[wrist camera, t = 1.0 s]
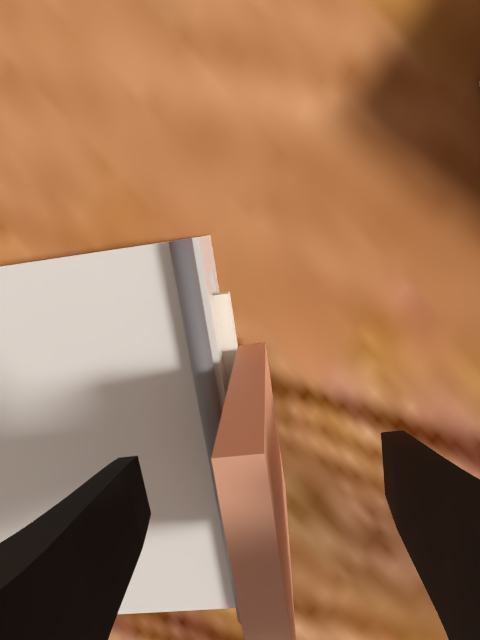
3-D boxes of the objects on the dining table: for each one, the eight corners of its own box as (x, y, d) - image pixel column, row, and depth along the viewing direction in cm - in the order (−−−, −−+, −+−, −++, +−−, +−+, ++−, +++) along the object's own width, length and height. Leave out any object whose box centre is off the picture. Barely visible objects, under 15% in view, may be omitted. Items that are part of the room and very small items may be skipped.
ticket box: (210, 235, 14) (194, 237, 11) (261, 553, 17) (259, 624, 14) (-88, 279, 15) (-178, 293, 12) (10, 569, 19) (-41, 639, 15)
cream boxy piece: (258, 287, 14) (249, 351, 7) (291, 530, 16) (309, 760, 9) (-58, 330, 15) (-336, 420, 8) (15, 549, 17) (-153, 766, 10)
